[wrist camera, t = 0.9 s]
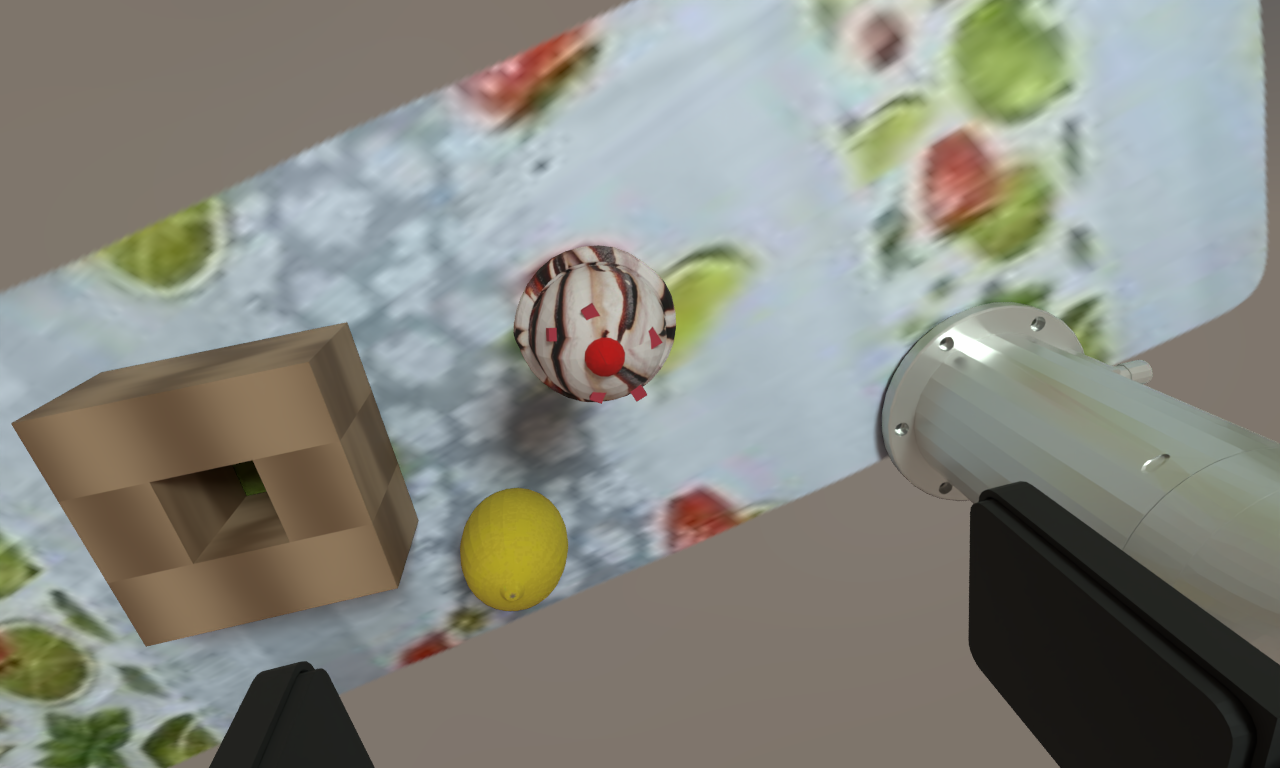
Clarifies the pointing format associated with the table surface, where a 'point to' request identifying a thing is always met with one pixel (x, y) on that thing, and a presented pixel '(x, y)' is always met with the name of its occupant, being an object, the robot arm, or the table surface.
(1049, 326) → the robot arm
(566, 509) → the table surface
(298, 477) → the cone stand
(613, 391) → the ice cream cone
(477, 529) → the lemon
